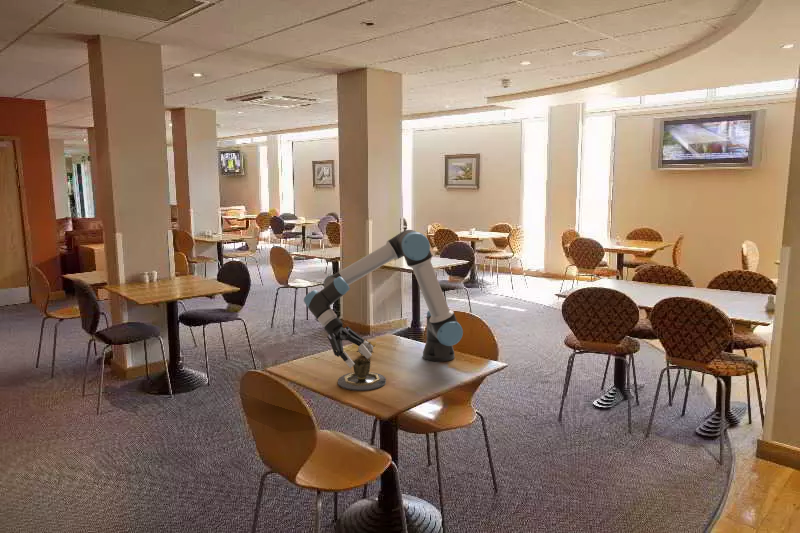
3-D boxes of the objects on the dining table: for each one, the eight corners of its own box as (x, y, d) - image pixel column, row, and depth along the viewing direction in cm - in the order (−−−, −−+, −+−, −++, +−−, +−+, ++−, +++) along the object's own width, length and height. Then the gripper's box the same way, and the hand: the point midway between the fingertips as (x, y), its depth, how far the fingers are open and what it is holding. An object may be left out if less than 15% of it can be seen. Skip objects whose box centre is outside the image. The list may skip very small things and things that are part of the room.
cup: (349, 381, 243) (349, 362, 242) (357, 375, 250) (357, 357, 249) (366, 383, 240) (366, 364, 239) (373, 377, 247) (373, 359, 246)
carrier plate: (381, 372, 257) (381, 368, 257) (389, 388, 238) (389, 384, 237) (335, 376, 253) (335, 371, 253) (340, 392, 234) (340, 387, 233)
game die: (364, 362, 283) (366, 343, 288) (377, 359, 278) (379, 340, 283) (351, 357, 277) (354, 337, 282) (364, 354, 272) (366, 334, 277)
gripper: (341, 321, 261) (371, 358, 256) (308, 334, 239) (339, 375, 234) (351, 311, 258) (381, 348, 253) (318, 323, 236) (350, 364, 231)
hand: (361, 361), depth 244 cm, fingers open, 13 cm apart
